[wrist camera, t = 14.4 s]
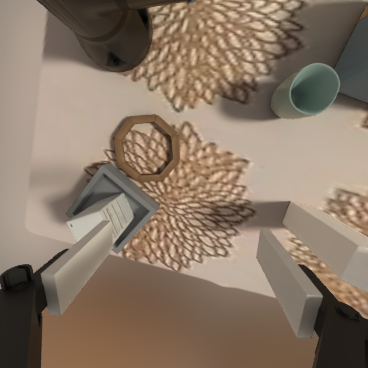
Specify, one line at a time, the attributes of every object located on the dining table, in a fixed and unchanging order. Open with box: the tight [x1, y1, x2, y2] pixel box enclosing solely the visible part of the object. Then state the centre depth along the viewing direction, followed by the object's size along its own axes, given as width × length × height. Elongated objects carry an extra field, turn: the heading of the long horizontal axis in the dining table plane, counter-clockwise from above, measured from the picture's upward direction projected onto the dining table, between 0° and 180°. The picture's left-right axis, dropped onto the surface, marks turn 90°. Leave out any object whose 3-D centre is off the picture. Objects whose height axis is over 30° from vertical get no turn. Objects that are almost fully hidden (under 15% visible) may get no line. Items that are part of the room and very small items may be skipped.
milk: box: [282, 201, 368, 292], centre depth 33 cm, size 6×6×22 cm
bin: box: [66, 163, 160, 254], centre depth 45 cm, size 16×16×4 cm
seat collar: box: [113, 114, 180, 182], centre depth 42 cm, size 15×15×2 cm
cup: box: [271, 63, 340, 119], centre depth 33 cm, size 8×8×10 cm
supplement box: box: [66, 192, 134, 244], centre depth 40 cm, size 7×7×13 cm
